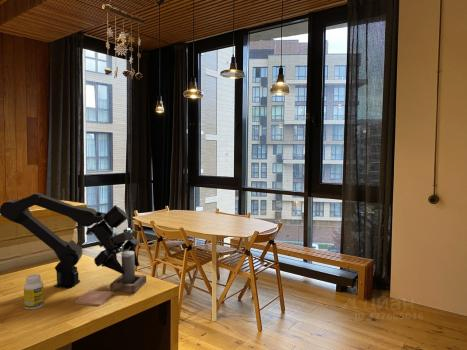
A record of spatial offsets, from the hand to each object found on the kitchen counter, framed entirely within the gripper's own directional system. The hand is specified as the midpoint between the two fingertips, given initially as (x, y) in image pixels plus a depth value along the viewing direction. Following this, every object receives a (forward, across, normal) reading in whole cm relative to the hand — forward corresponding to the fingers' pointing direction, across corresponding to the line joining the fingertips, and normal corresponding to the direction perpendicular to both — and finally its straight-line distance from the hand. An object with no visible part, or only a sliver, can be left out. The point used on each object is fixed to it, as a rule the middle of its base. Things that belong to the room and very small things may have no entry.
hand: (131, 269), depth 125 cm
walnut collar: (+4, 0, +6) cm, 7 cm away
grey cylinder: (+4, 0, +6) cm, 7 cm away
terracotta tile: (0, -12, +9) cm, 15 cm away
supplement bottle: (-9, -23, +19) cm, 31 cm away
